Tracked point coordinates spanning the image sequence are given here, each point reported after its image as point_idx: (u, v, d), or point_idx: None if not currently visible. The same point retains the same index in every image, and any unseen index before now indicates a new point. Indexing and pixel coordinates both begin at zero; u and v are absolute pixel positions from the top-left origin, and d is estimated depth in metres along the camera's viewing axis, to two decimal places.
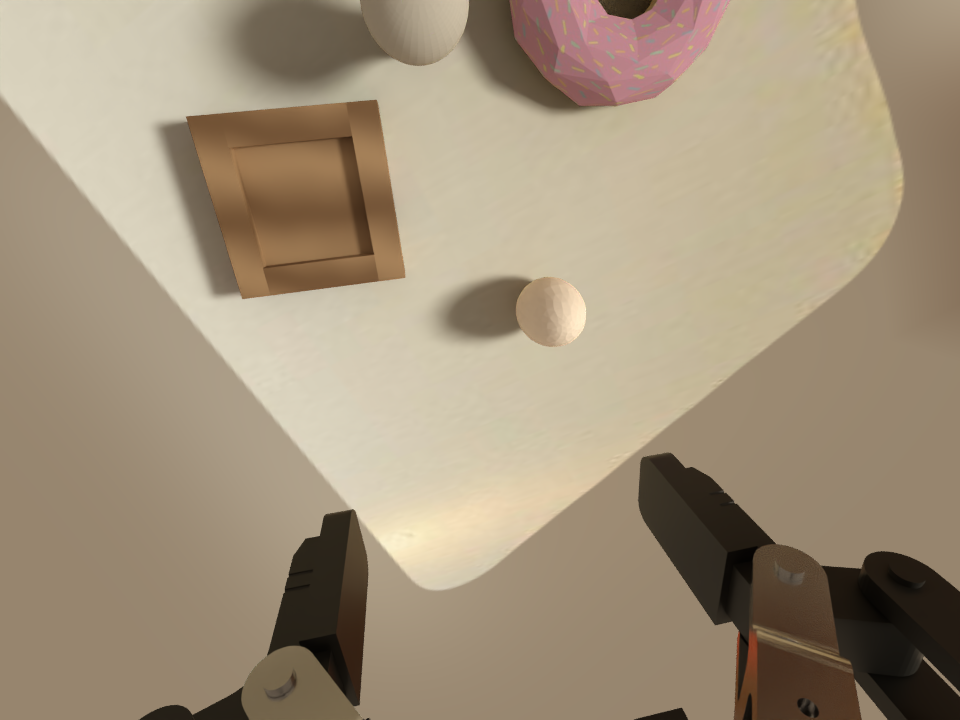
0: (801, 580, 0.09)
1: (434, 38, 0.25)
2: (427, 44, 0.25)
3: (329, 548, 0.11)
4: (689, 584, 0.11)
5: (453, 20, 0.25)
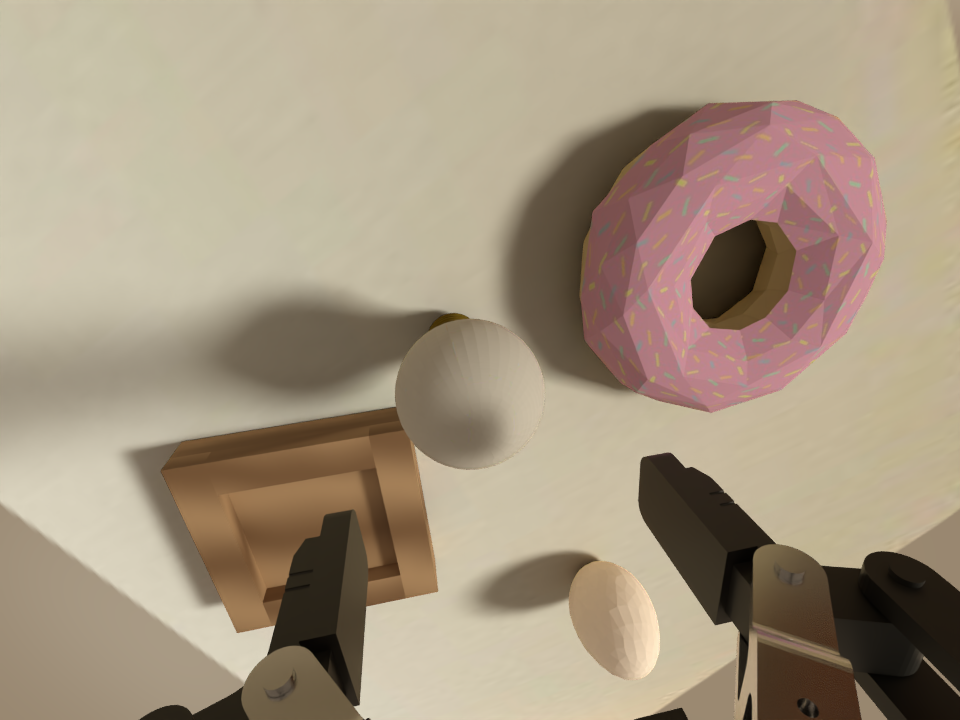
0: (801, 580, 0.09)
1: None
2: (489, 466, 0.18)
3: (329, 548, 0.11)
4: (689, 584, 0.11)
5: (526, 441, 0.18)
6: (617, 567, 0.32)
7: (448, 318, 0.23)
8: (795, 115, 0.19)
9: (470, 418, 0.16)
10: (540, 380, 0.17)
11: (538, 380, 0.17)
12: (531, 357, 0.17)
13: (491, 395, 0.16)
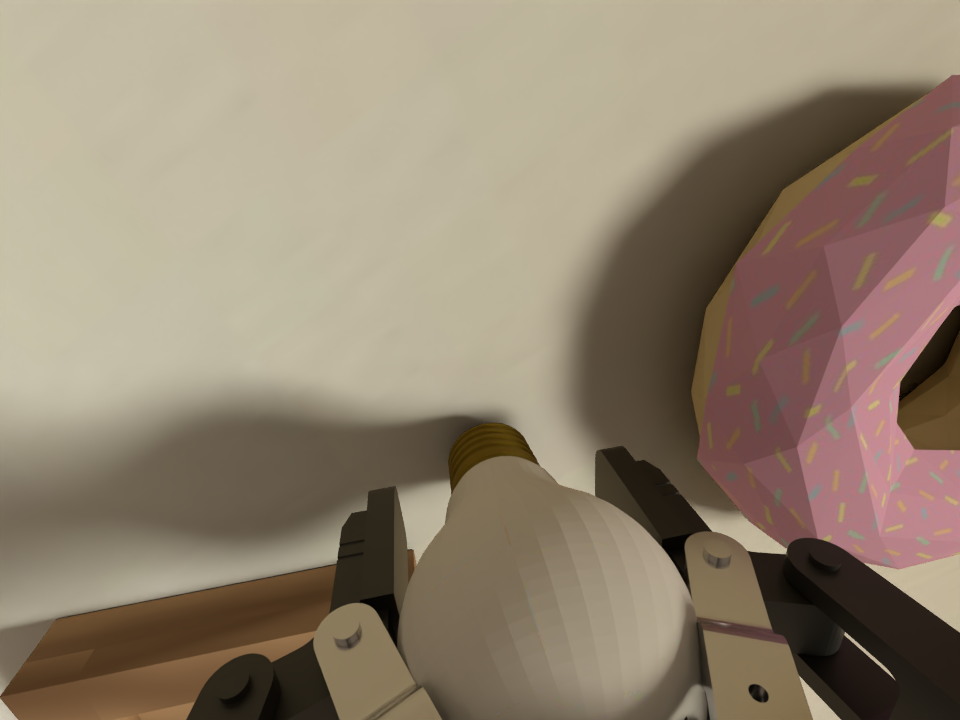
0: (726, 564, 0.09)
1: None
2: None
3: (377, 520, 0.11)
4: None
5: None
6: None
7: (484, 436, 0.14)
8: None
9: None
10: None
11: None
12: (684, 593, 0.08)
13: None
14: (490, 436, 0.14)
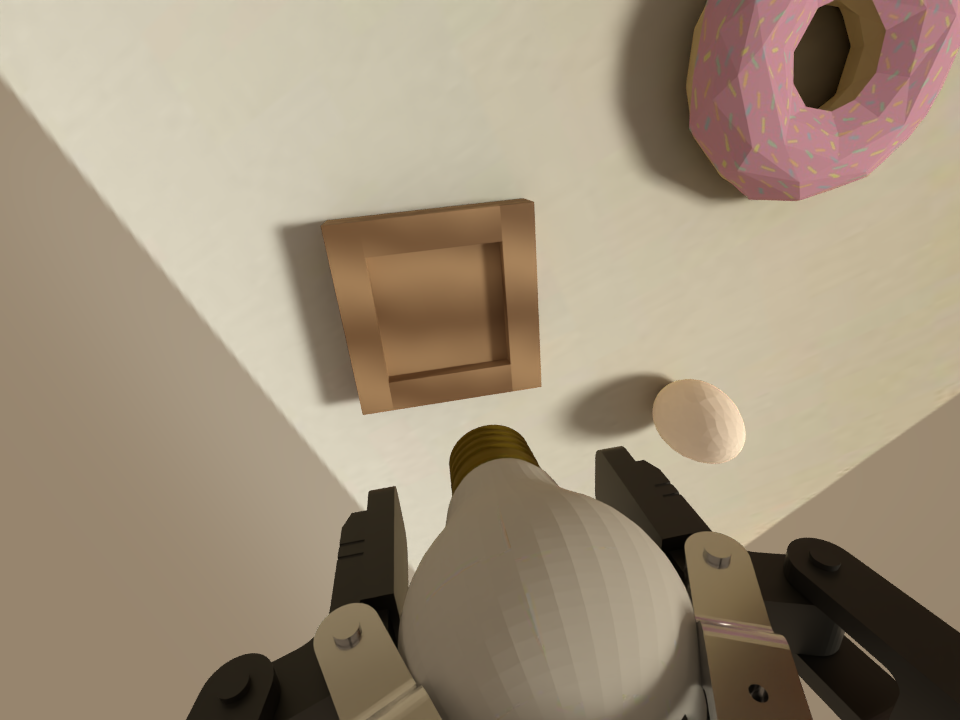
0: (726, 564, 0.09)
1: None
2: None
3: (377, 520, 0.11)
4: None
5: None
6: (699, 380, 0.34)
7: (485, 438, 0.14)
8: None
9: None
10: None
11: None
12: (684, 596, 0.08)
13: None
14: (491, 438, 0.14)
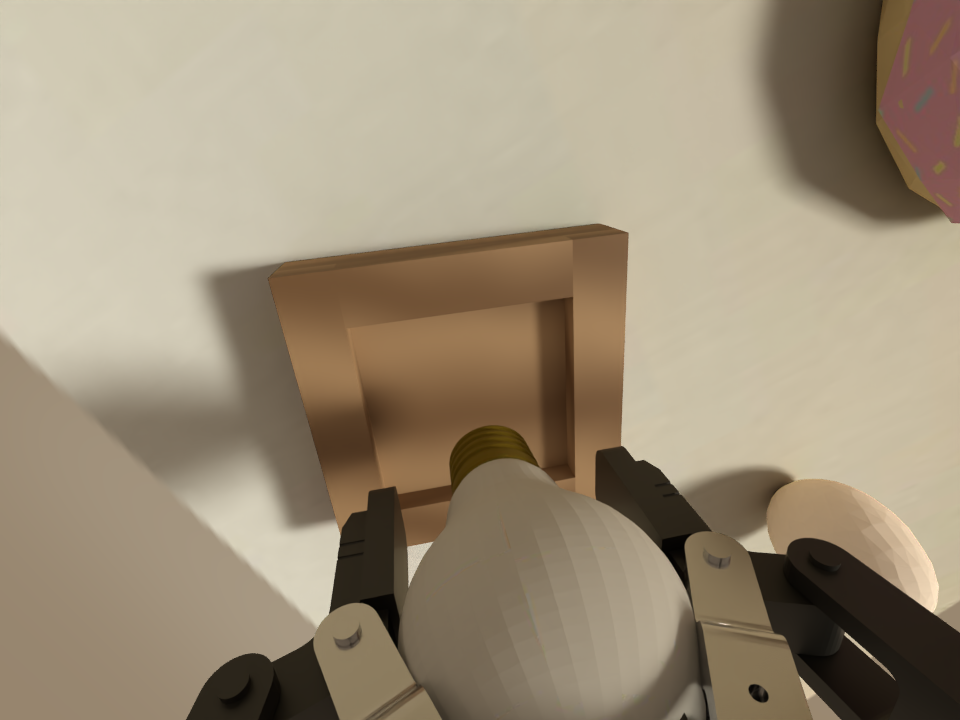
0: (726, 564, 0.09)
1: None
2: None
3: (377, 520, 0.11)
4: None
5: None
6: (840, 483, 0.23)
7: (485, 439, 0.14)
8: None
9: None
10: None
11: None
12: (684, 596, 0.08)
13: None
14: (491, 438, 0.14)
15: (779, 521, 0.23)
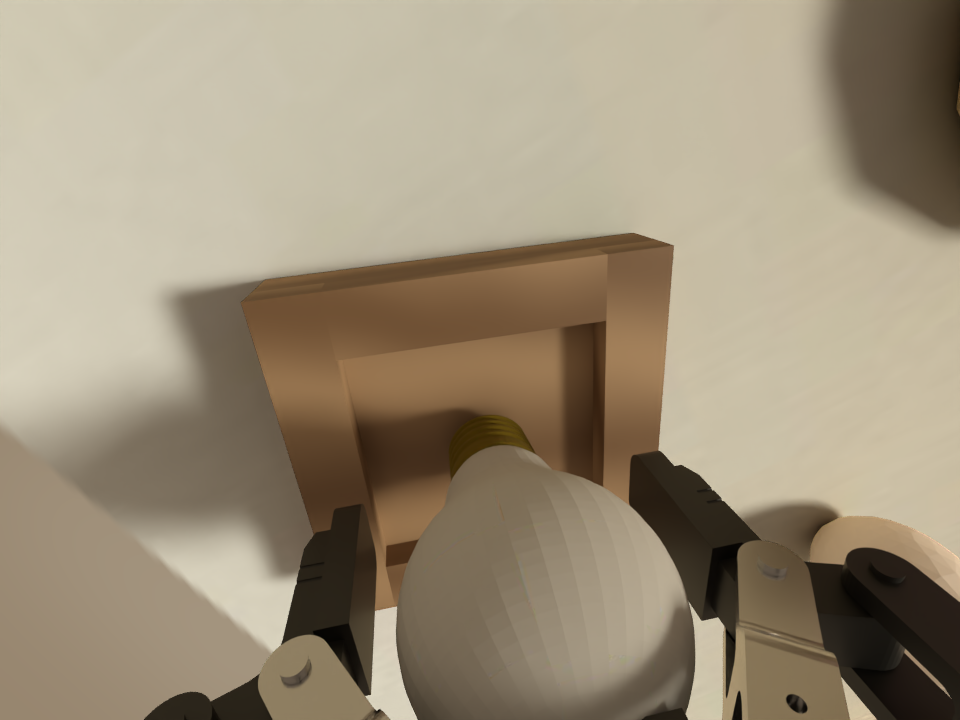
0: (784, 575, 0.09)
1: None
2: None
3: (340, 541, 0.11)
4: None
5: None
6: (896, 522, 0.21)
7: (483, 427, 0.14)
8: None
9: None
10: (691, 617, 0.09)
11: (690, 624, 0.08)
12: (671, 569, 0.09)
13: (616, 706, 0.07)
14: (489, 427, 0.14)
15: None
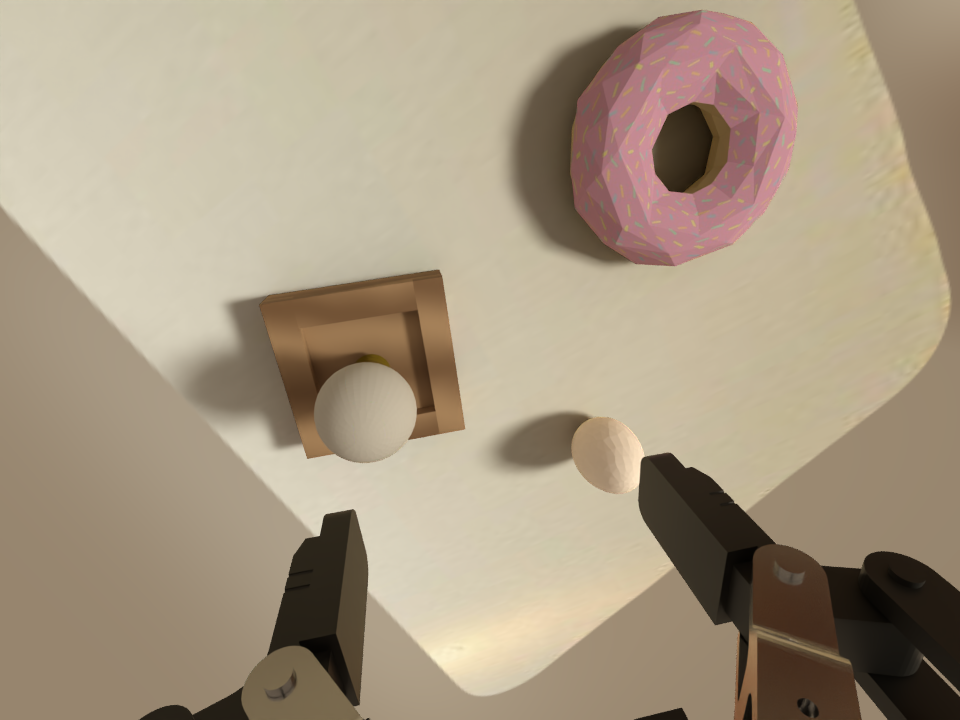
0: (801, 580, 0.09)
1: (383, 458, 0.27)
2: (377, 460, 0.27)
3: (329, 548, 0.11)
4: (689, 584, 0.11)
5: (400, 443, 0.27)
6: (610, 418, 0.39)
7: (365, 358, 0.32)
8: (719, 18, 0.27)
9: (353, 428, 0.25)
10: (407, 402, 0.27)
11: (405, 402, 0.26)
12: (401, 387, 0.27)
13: (367, 413, 0.25)
14: (367, 358, 0.32)
15: (572, 441, 0.38)
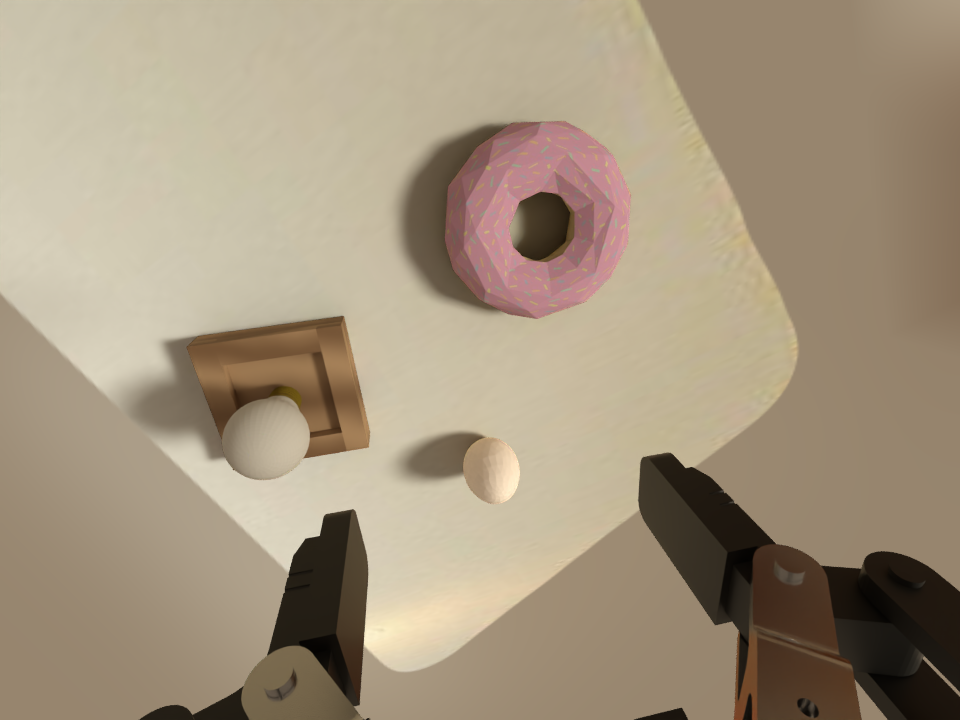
0: (801, 580, 0.09)
1: (278, 476, 0.34)
2: (273, 478, 0.34)
3: (329, 548, 0.11)
4: (689, 584, 0.11)
5: (291, 465, 0.34)
6: (496, 439, 0.46)
7: (277, 390, 0.39)
8: (555, 130, 0.34)
9: (248, 454, 0.32)
10: (296, 433, 0.33)
11: (294, 433, 0.33)
12: (292, 421, 0.33)
13: (259, 443, 0.32)
14: (279, 390, 0.39)
15: (464, 458, 0.46)
